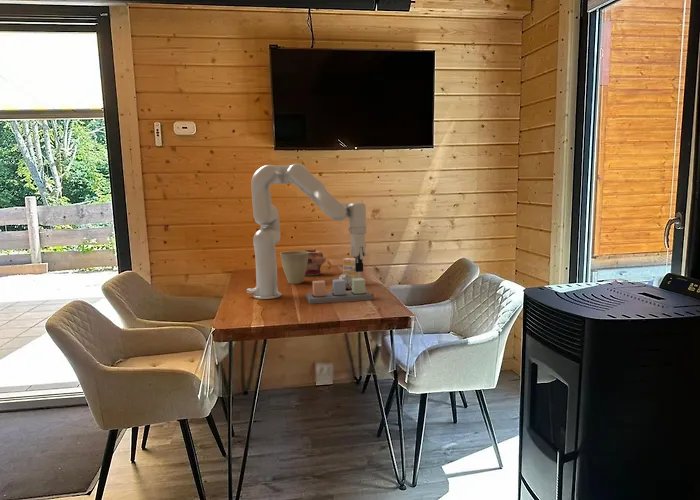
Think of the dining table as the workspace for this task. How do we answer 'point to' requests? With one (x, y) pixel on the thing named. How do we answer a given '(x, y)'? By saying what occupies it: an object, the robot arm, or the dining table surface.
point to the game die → (347, 279)
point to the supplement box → (350, 268)
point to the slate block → (339, 287)
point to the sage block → (358, 285)
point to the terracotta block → (319, 288)
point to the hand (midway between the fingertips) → (359, 271)
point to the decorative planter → (314, 262)
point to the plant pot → (294, 265)
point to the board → (338, 297)
